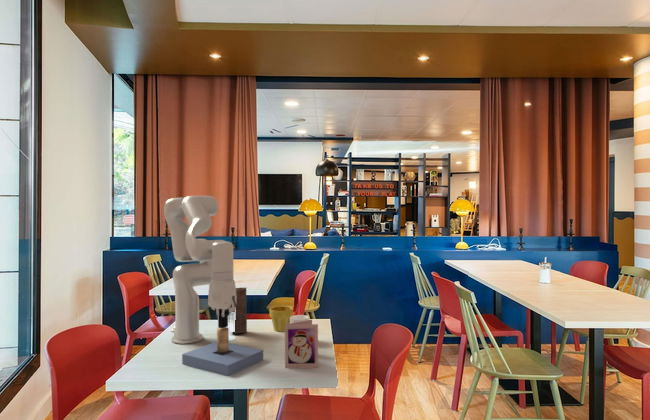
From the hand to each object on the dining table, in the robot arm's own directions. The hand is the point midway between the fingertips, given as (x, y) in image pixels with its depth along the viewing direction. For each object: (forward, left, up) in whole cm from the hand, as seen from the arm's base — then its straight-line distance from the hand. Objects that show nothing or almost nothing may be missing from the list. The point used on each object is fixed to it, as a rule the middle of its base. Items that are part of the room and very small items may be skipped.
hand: (223, 327), depth 159 cm
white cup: (+10, +34, -13) cm, 38 cm away
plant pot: (-7, +44, -13) cm, 46 cm away
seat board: (0, 0, -13) cm, 13 cm away
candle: (-20, +30, -13) cm, 38 cm away
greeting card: (+26, +12, -13) cm, 31 cm away
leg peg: (0, 0, -13) cm, 13 cm away
